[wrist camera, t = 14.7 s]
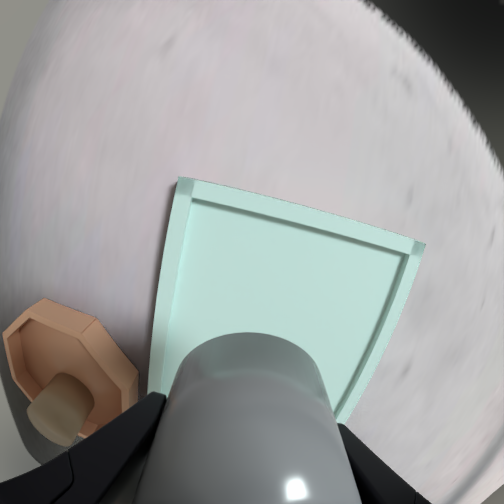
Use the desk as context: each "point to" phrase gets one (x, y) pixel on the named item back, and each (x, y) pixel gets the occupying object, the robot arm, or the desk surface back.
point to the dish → (71, 359)
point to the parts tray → (279, 284)
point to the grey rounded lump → (247, 430)
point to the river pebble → (61, 409)
